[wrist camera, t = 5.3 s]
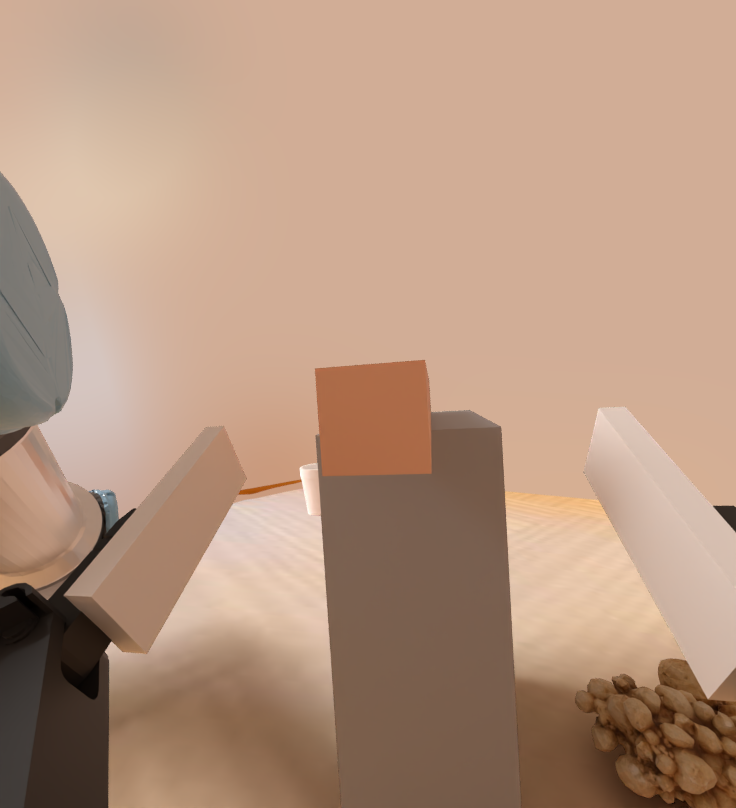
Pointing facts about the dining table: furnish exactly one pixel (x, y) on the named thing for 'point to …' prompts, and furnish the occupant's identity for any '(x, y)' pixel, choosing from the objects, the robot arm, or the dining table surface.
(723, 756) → the mineral formation
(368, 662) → the stand
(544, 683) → the dining table surface
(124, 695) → the dining table surface
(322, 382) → the rail
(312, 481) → the foam cup
